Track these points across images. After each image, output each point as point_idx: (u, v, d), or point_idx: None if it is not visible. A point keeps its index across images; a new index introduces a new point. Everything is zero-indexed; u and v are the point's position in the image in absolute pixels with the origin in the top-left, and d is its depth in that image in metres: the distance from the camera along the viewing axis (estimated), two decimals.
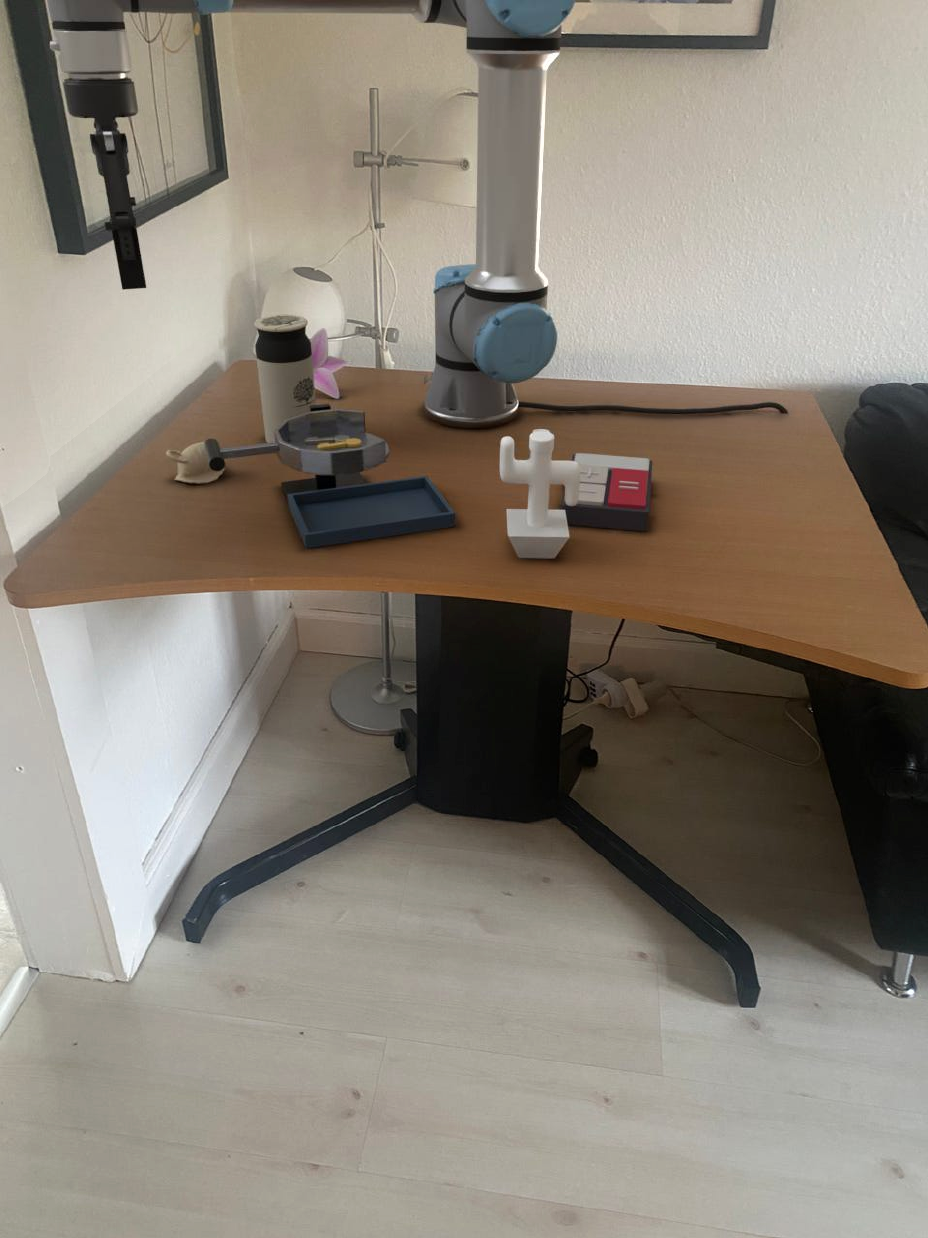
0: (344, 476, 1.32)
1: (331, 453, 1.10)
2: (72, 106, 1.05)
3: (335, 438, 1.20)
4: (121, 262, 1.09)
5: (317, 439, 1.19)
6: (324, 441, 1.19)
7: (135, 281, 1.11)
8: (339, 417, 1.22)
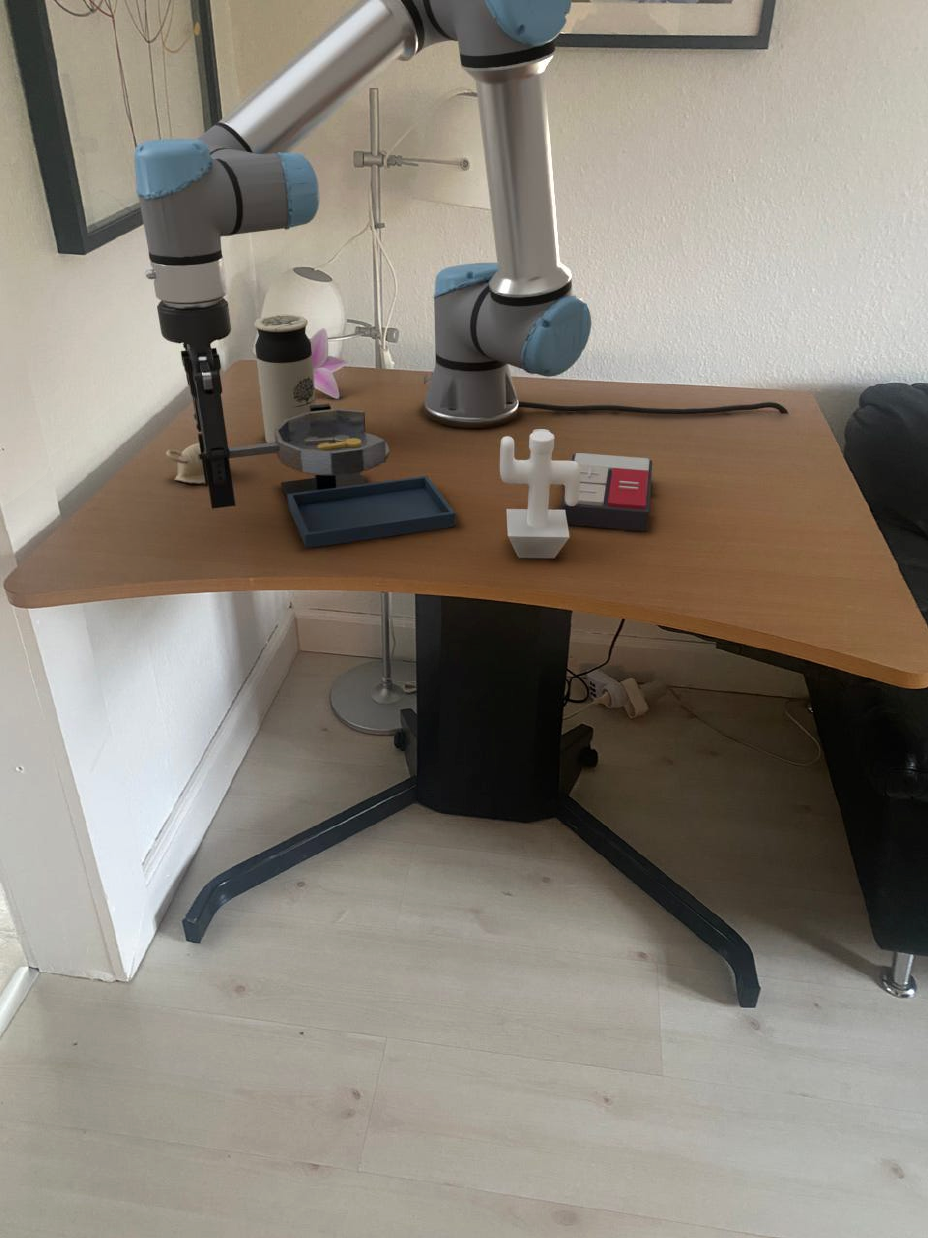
0: (344, 476, 1.32)
1: (331, 453, 1.10)
2: (167, 333, 1.02)
3: (335, 438, 1.20)
4: (212, 485, 1.11)
5: (317, 439, 1.19)
6: (324, 441, 1.19)
7: (225, 500, 1.12)
8: (339, 417, 1.22)
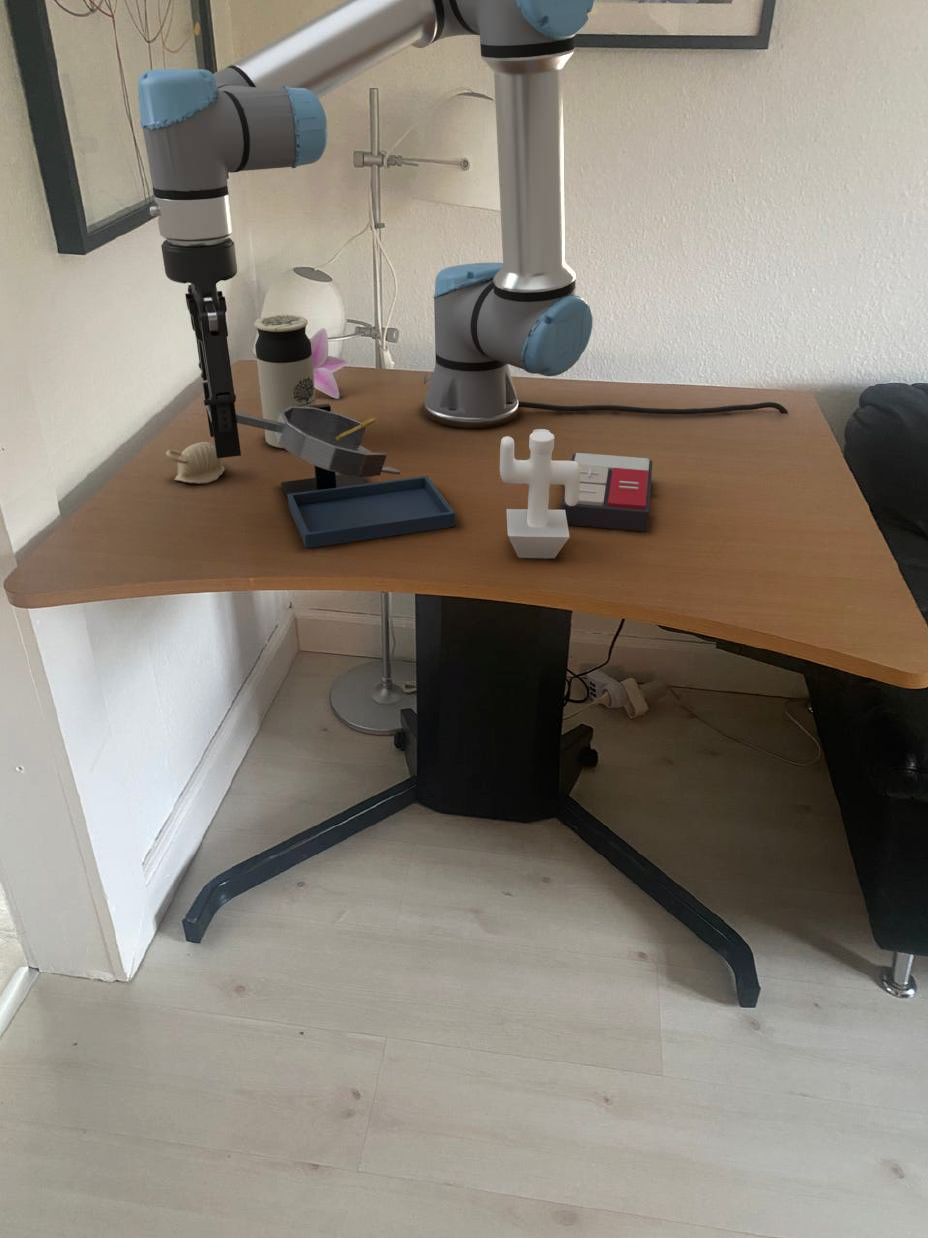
0: (344, 476, 1.32)
1: (335, 448, 1.10)
2: (172, 272, 0.99)
3: None
4: (217, 433, 1.08)
5: (387, 472, 1.17)
6: (383, 470, 1.17)
7: (230, 450, 1.09)
8: (339, 423, 1.23)
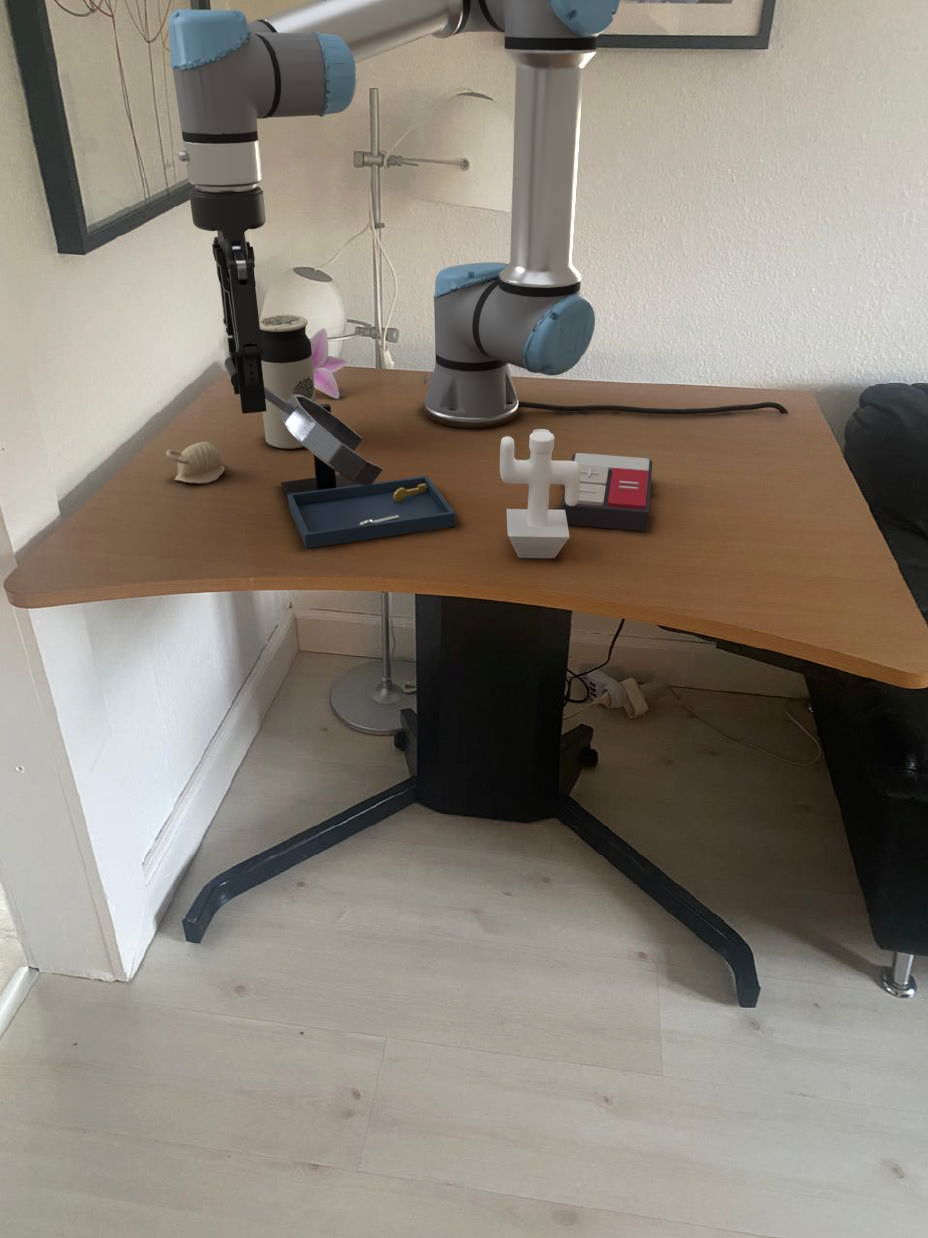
0: None
1: (342, 445, 1.10)
2: (200, 219, 0.98)
3: None
4: (243, 387, 1.06)
5: None
6: (382, 519, 1.20)
7: (256, 405, 1.08)
8: (338, 428, 1.23)
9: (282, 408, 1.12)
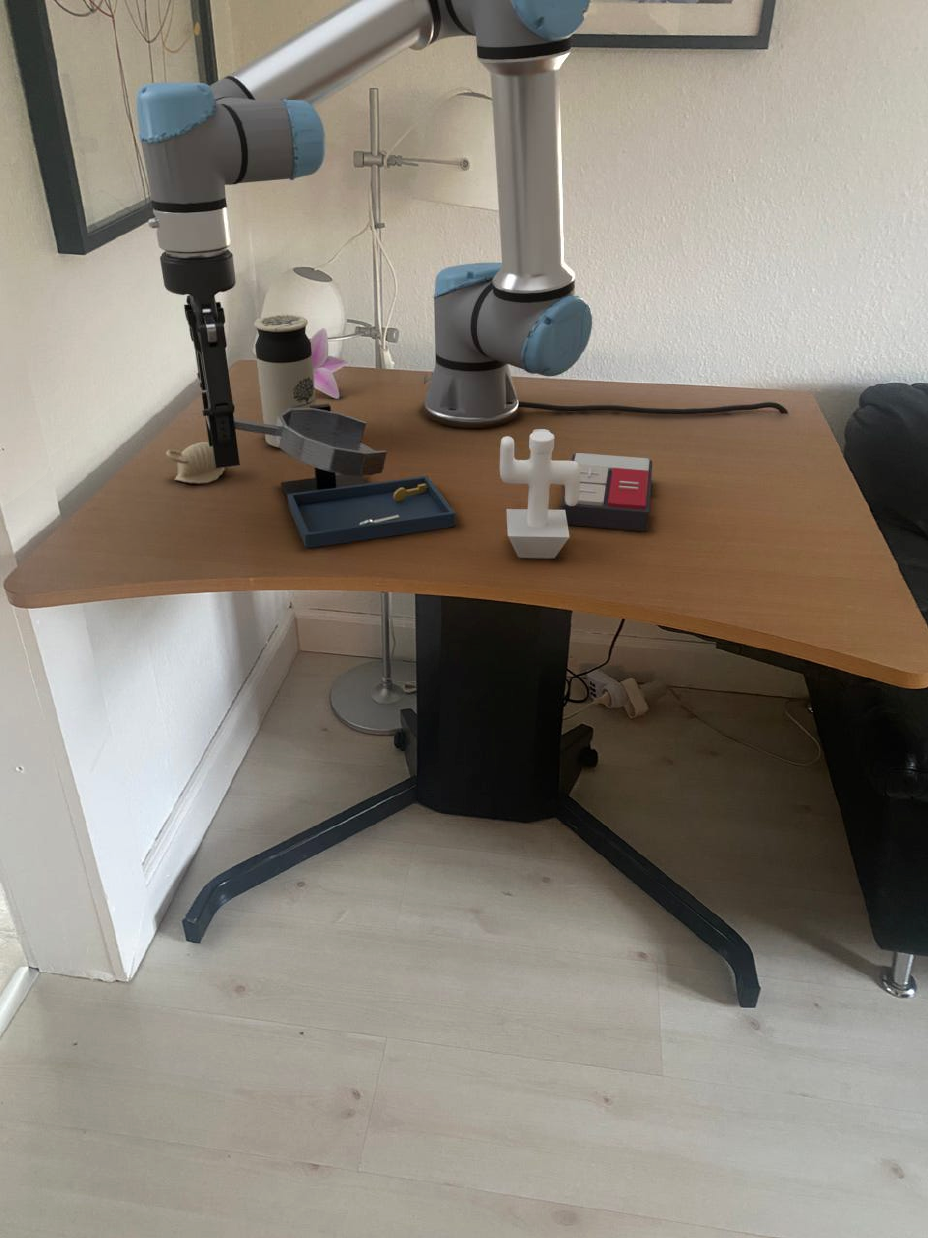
0: (344, 476, 1.32)
1: (334, 449, 1.10)
2: (171, 284, 1.00)
3: None
4: (216, 443, 1.09)
5: None
6: (382, 519, 1.20)
7: (229, 459, 1.10)
8: (339, 422, 1.23)
9: (272, 433, 1.13)
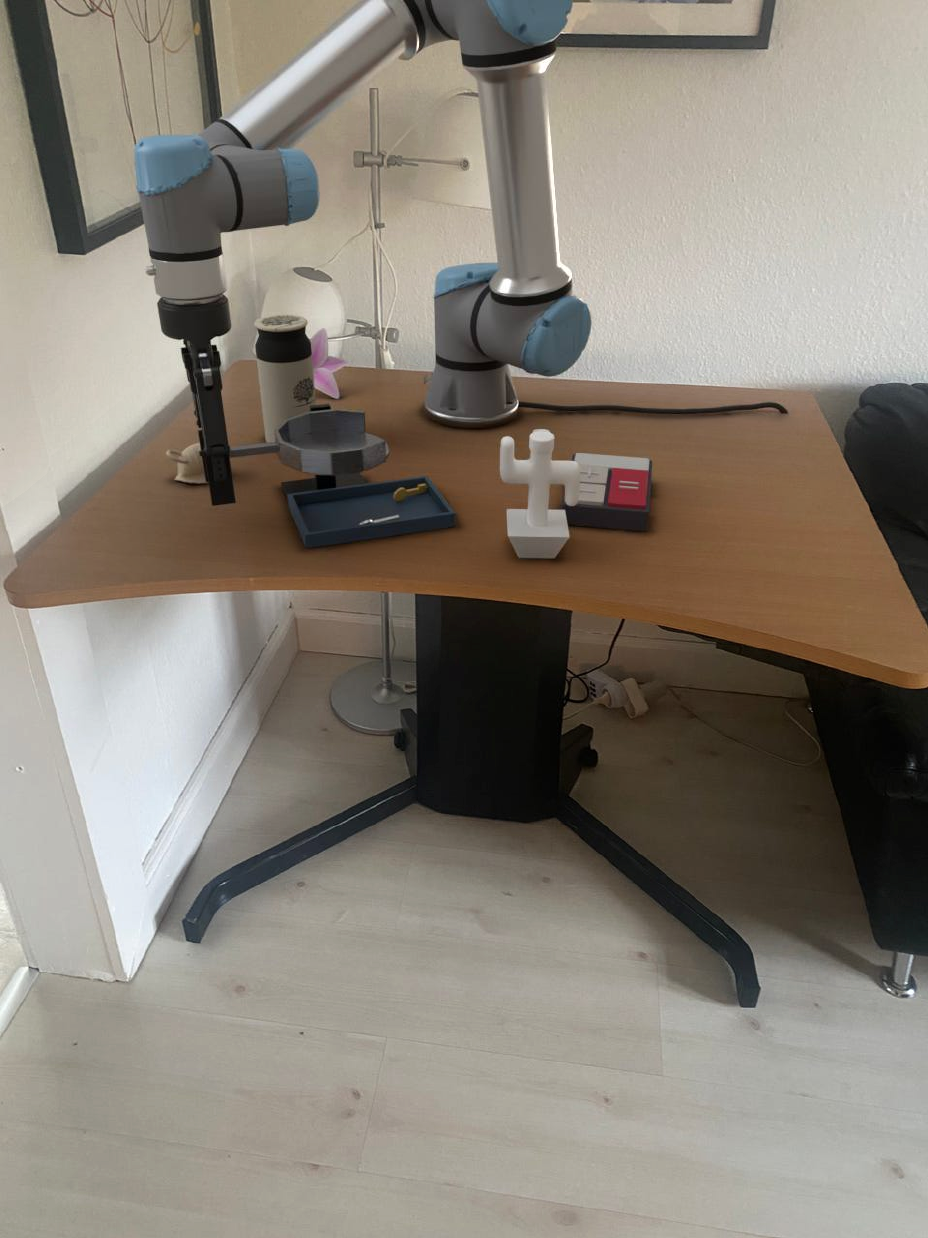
0: (344, 476, 1.32)
1: (331, 453, 1.10)
2: (167, 329, 1.02)
3: None
4: (212, 482, 1.11)
5: None
6: (382, 519, 1.20)
7: (225, 497, 1.12)
8: (339, 418, 1.22)
9: (272, 451, 1.15)
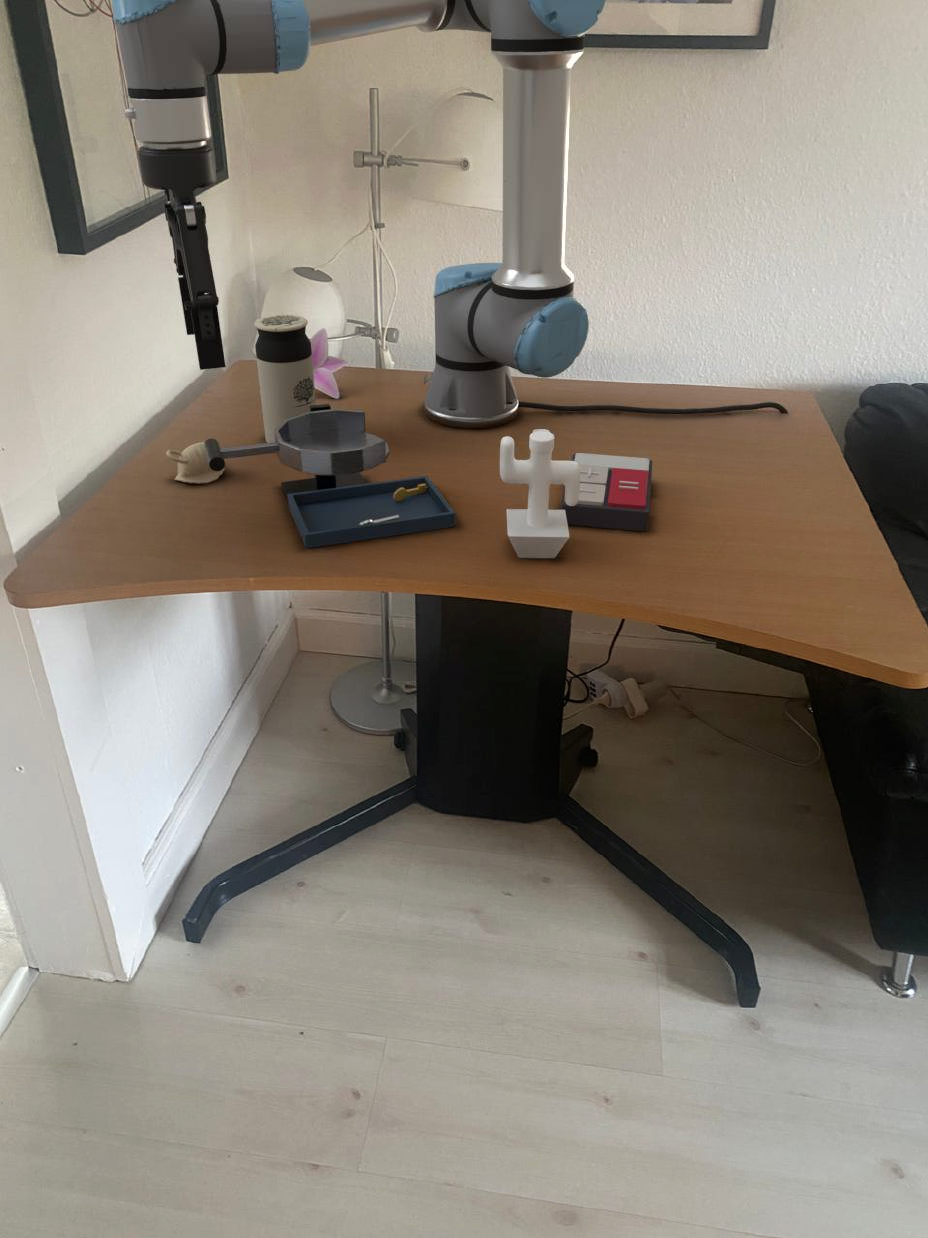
0: (344, 476, 1.32)
1: (331, 453, 1.10)
2: (149, 178, 0.97)
3: None
4: (200, 341, 1.02)
5: None
6: (382, 519, 1.20)
7: (214, 360, 1.03)
8: (339, 417, 1.22)
9: (272, 451, 1.15)
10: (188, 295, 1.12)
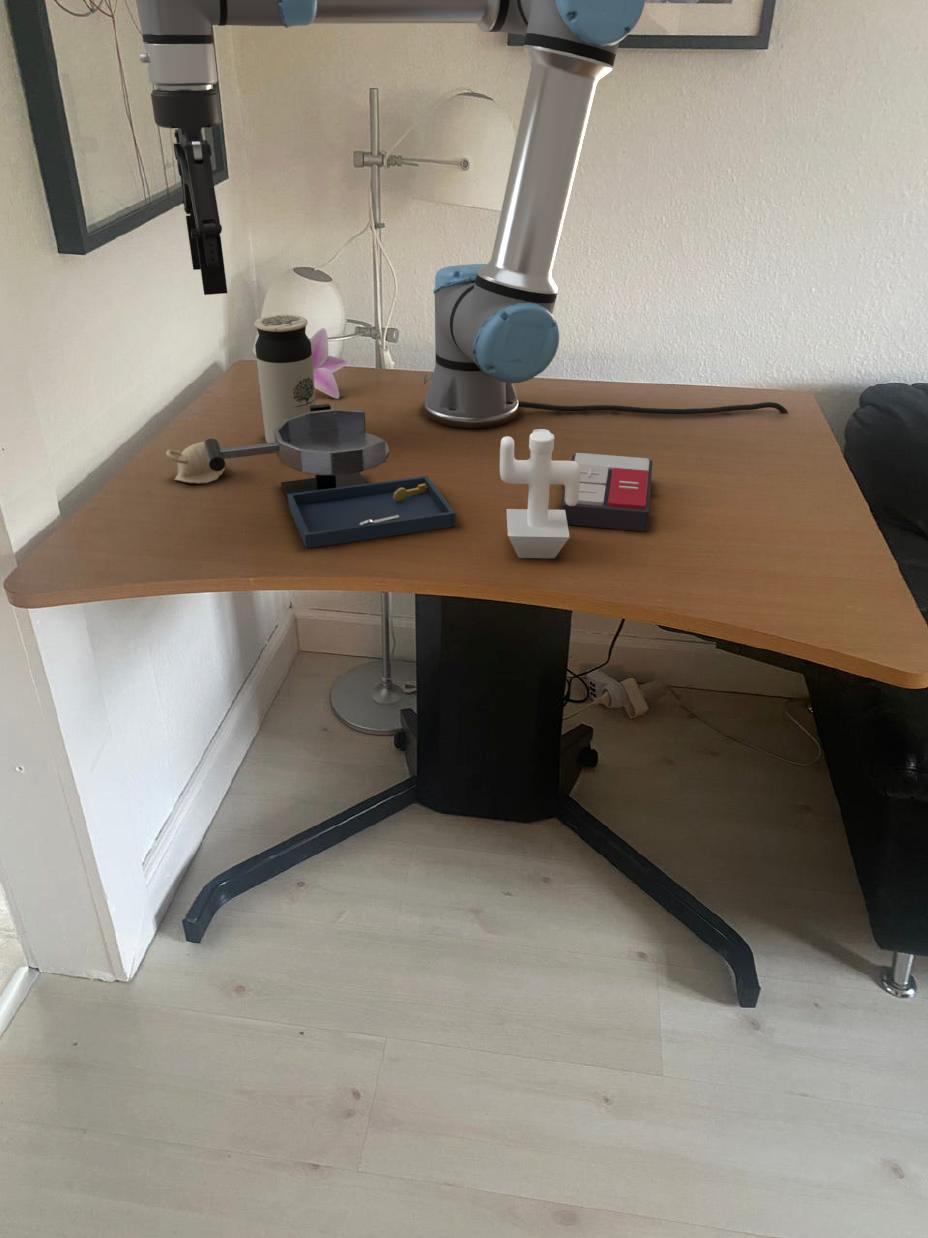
0: (344, 476, 1.32)
1: (331, 453, 1.10)
2: (160, 117, 1.07)
3: None
4: (204, 268, 1.12)
5: None
6: (382, 519, 1.20)
7: (217, 287, 1.14)
8: (339, 417, 1.22)
9: (272, 451, 1.15)
10: None
